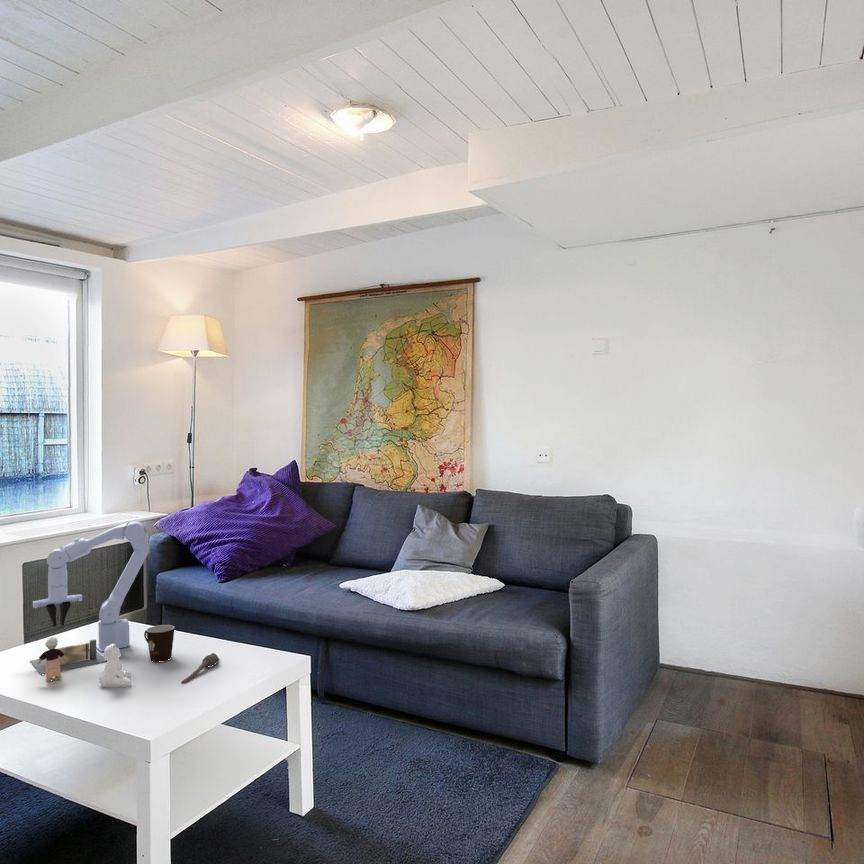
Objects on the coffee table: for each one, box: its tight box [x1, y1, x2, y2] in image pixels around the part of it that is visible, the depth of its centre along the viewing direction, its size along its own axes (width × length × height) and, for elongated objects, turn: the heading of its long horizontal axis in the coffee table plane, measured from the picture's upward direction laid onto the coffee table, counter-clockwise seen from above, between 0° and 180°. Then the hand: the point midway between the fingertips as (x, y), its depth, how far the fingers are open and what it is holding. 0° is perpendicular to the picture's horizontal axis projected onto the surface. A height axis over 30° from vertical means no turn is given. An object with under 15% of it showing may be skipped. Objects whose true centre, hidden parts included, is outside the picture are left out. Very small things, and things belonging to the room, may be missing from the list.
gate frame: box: [29, 639, 108, 676], centre depth 221 cm, size 19×17×7 cm
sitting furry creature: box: [98, 644, 132, 689], centre depth 201 cm, size 10×9×12 cm
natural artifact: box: [180, 652, 219, 685], centre depth 212 cm, size 4×23×4 cm, turn 164°
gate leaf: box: [57, 642, 90, 665], centre depth 218 cm, size 12×1×5 cm, turn 132°
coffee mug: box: [143, 624, 175, 663], centre depth 224 cm, size 12×9×10 cm
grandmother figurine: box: [37, 636, 67, 682], centre depth 205 cm, size 8×4×13 cm, turn 135°
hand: (58, 625), depth 230 cm, fingers closed
